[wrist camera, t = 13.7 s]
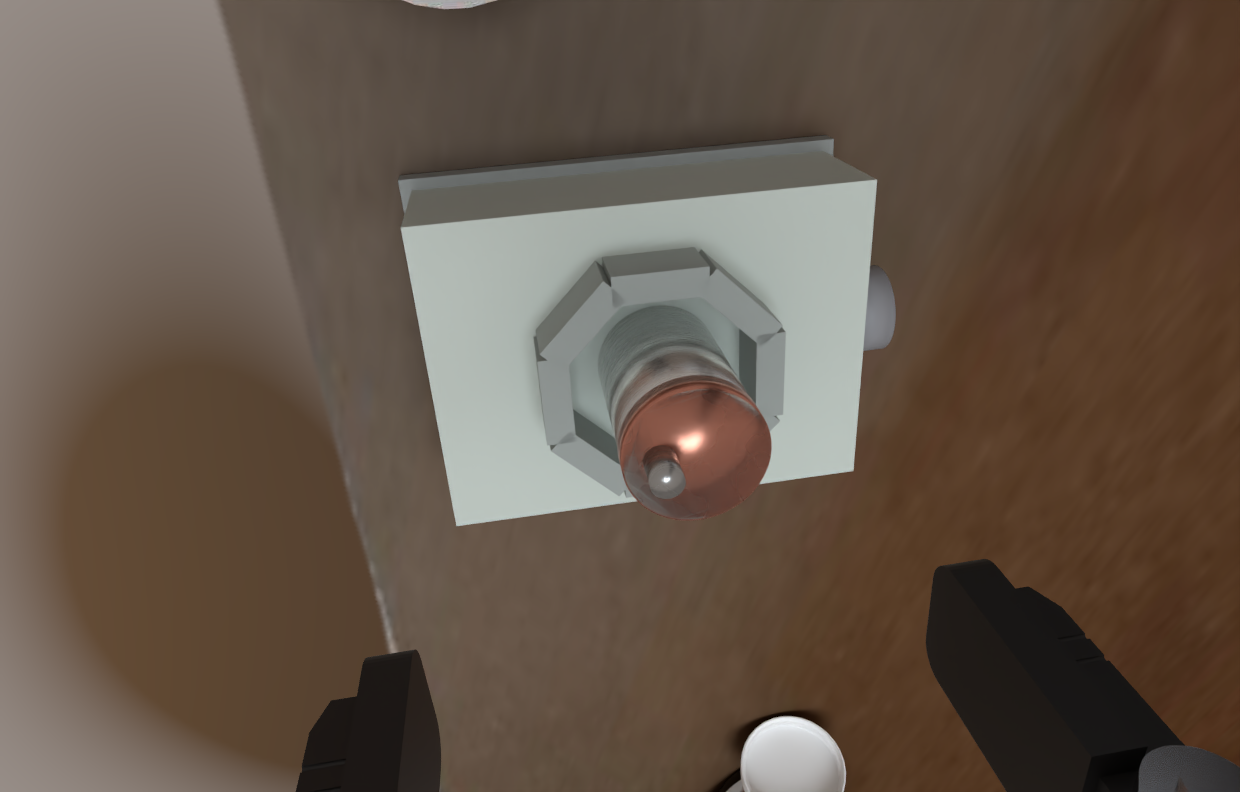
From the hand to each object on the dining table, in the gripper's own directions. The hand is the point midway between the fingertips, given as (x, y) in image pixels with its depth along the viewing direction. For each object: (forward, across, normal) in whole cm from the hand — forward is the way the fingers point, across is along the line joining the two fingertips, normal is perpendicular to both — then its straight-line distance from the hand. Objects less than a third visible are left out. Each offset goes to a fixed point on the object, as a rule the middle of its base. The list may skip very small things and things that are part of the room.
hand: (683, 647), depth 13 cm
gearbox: (+30, -3, +6) cm, 31 cm away
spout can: (+23, -3, +6) cm, 24 cm away
